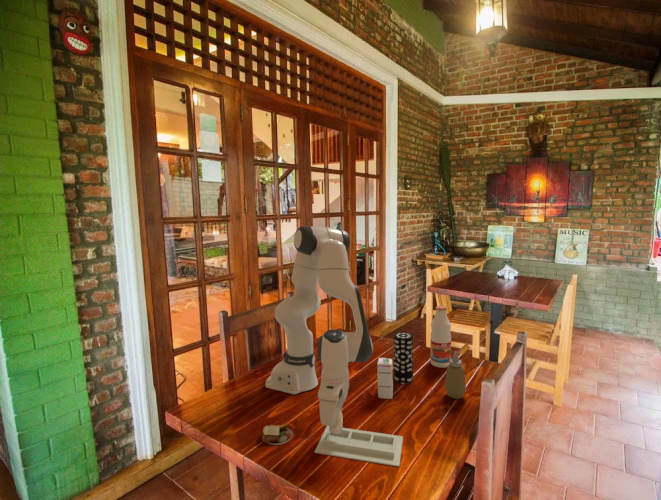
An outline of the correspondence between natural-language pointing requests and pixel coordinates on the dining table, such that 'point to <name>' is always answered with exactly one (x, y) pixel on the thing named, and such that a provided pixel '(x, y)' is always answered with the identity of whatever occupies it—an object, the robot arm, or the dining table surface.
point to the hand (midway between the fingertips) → (335, 422)
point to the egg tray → (362, 446)
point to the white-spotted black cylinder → (403, 358)
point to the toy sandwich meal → (276, 434)
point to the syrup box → (385, 378)
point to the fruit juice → (440, 339)
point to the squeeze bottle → (455, 378)
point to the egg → (338, 424)
